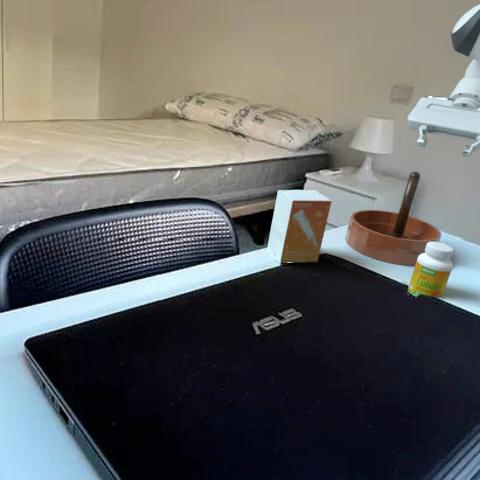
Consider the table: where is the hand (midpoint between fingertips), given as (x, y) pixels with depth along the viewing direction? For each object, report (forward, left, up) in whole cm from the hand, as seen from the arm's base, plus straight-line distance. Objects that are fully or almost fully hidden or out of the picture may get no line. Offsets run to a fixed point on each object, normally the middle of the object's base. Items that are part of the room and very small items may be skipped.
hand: (442, 149), depth 108 cm
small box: (+10, +37, -20) cm, 43 cm away
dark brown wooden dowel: (0, +12, -19) cm, 23 cm away
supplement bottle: (-13, +31, -20) cm, 39 cm away
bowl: (0, +16, -20) cm, 25 cm away
